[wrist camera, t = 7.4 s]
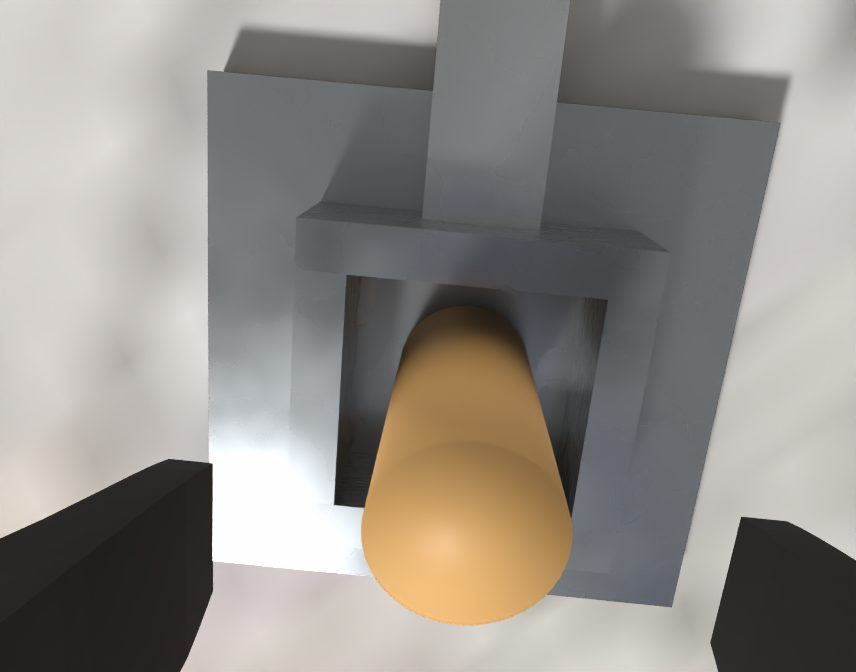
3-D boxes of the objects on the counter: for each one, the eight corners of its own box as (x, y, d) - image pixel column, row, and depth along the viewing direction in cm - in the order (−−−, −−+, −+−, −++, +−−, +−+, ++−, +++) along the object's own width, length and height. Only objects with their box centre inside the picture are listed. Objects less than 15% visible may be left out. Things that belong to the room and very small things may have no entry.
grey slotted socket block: (781, 28, 15) (870, 7, 12) (661, 583, 20) (702, 680, 16) (222, -22, 16) (157, -56, 12) (221, 538, 20) (173, 625, 16)
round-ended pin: (533, 309, 16) (583, 447, 10) (522, 430, 17) (562, 631, 11) (401, 302, 17) (362, 435, 10) (398, 423, 17) (359, 618, 11)
